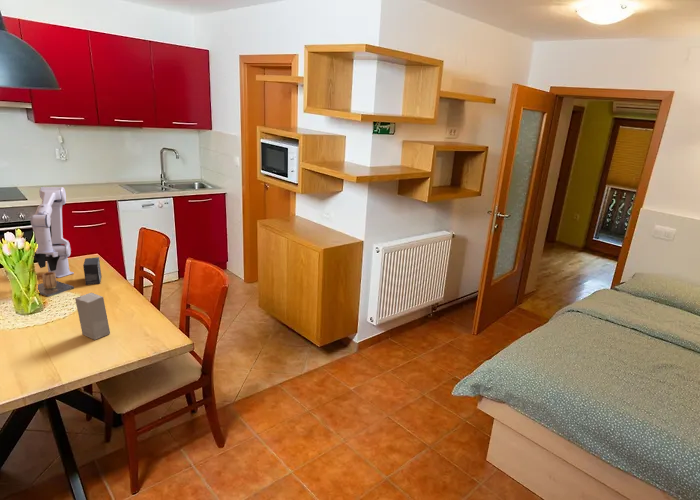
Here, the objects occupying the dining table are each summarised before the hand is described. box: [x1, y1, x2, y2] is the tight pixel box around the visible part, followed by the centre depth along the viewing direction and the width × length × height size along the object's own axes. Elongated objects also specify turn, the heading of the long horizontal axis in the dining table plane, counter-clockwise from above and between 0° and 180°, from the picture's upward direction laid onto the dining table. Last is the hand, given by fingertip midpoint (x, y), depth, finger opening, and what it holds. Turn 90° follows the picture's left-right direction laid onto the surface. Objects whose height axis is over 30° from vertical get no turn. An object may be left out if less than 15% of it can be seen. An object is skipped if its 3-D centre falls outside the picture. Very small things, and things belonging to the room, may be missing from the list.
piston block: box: [37, 280, 75, 298], centre depth 205 cm, size 15×12×5 cm
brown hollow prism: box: [41, 271, 57, 288], centre depth 204 cm, size 5×5×6 cm
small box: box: [82, 257, 103, 286], centre depth 217 cm, size 11×6×10 cm, turn 25°
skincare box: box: [74, 292, 111, 341], centre depth 166 cm, size 8×7×16 cm
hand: (48, 268), depth 203 cm, fingers open, 7 cm apart
